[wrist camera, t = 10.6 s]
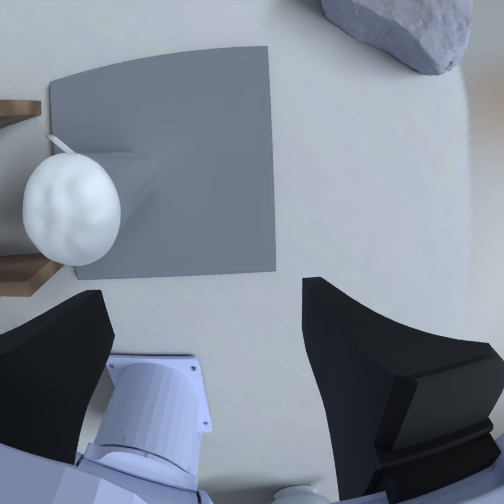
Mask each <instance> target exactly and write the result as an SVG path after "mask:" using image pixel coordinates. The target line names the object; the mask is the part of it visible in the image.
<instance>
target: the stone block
mask: <svg viewBox="0 0 504 504" xmlns="http://www.w3.org/2000/svg"><path fill="white" fill-rule="evenodd" d="M473 1H474V0H320V2H321V7H322V9H323V10H324V14H325V16H326V18H327V19H328V20H330V21H331V22H332V23H334V24H336V25H337V26H339V27H340V28H341V29H343V30H344V31H345V32H346V33H348V34H349V35H350V36H352V37H353V38H354V39H356V40H359V41H362V42H364V43H367V44H370V45H372V46H373V47H375V48H378V49H383V50H385V51H387V52H388V53H390V54H392V55H393V56H394V57H395V58H396V59H398V60H399V61H401V62H403V63H404V64H406V65H408V66H410V67H411V68H413V69H415V70H417V71H419V72H420V73H422V74H425V75H430V76H432V75H441V74H443V73H445V72H446V71H450V70H451V69H452V68H453V67H454V66H456V65H457V64H458V63H459V62H460V60H461V58H462V55H463V53H464V51H465V49H466V48H467V45H468V41H469V36H470V31H471V25H472V4H473Z"/></svg>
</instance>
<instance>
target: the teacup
mask: <svg viewBox="0 0 504 504" xmlns="http://www.w3.org/2000/svg"><path fill="white" fill-rule="evenodd" d="M274 498H275V501H273V502H272V503H270V504H328V503H331V502H330V501H329V500H328V499H327V498H326V497H324V496H321V495H318V494H317V490H316V488H314V487H312V486H308V485H297V486H291V487H287V488H284V489H281V490H279V491H278V492H276V493H275V495H274Z"/></svg>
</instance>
